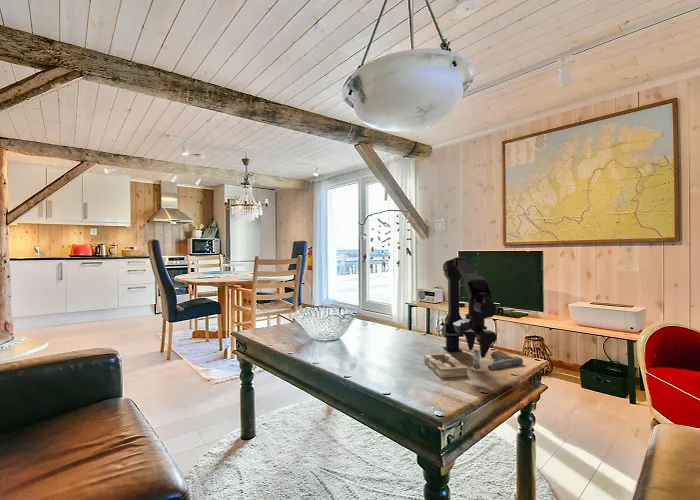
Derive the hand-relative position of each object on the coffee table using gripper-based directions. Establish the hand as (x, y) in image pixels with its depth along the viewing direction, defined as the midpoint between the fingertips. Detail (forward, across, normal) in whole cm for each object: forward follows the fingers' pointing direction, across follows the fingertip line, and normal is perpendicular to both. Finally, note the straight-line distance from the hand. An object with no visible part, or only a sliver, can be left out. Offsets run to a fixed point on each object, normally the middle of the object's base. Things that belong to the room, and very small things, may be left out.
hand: (476, 353), depth 134 cm
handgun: (+7, -7, +12) cm, 15 cm away
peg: (+6, 0, 0) cm, 6 cm away
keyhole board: (+6, -3, -11) cm, 13 cm away
